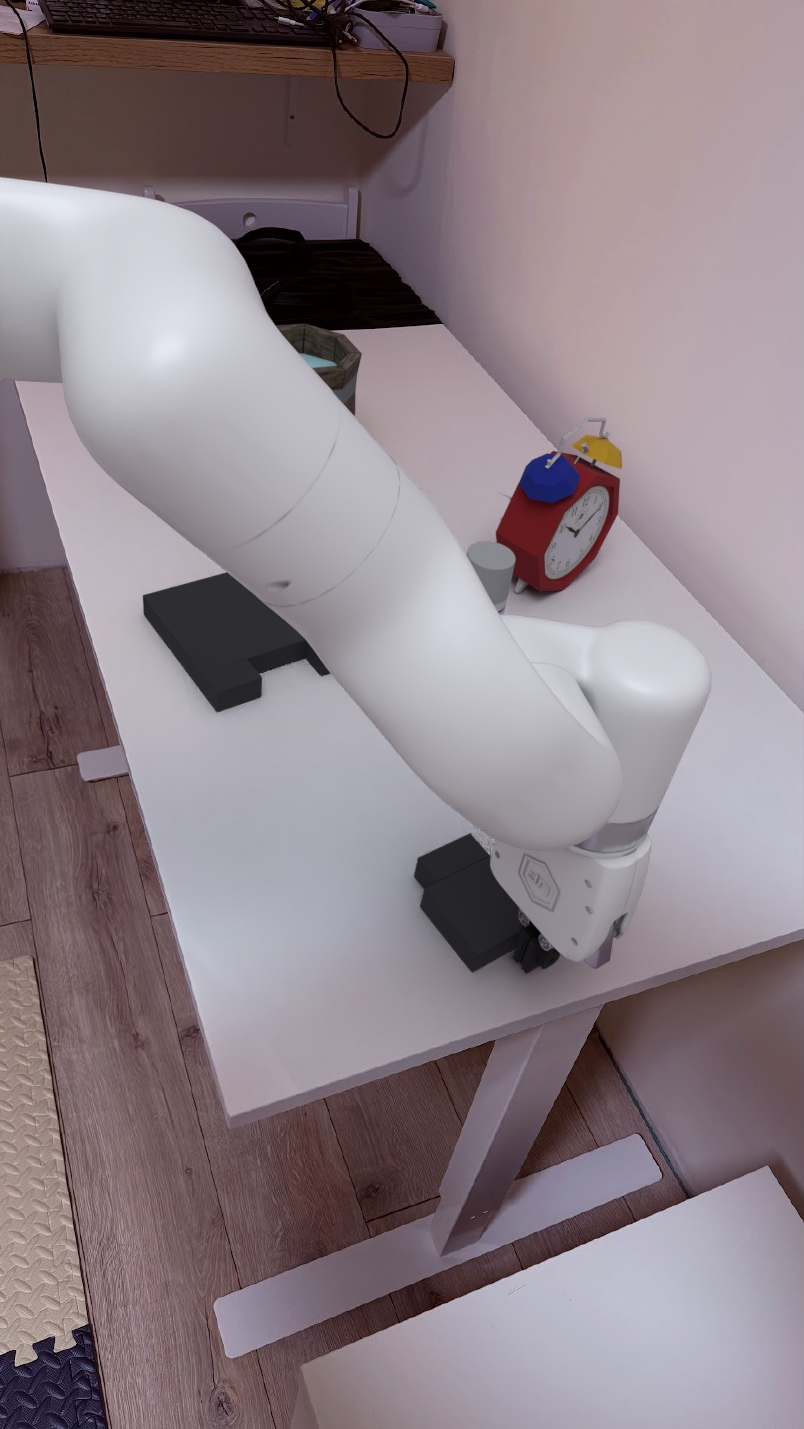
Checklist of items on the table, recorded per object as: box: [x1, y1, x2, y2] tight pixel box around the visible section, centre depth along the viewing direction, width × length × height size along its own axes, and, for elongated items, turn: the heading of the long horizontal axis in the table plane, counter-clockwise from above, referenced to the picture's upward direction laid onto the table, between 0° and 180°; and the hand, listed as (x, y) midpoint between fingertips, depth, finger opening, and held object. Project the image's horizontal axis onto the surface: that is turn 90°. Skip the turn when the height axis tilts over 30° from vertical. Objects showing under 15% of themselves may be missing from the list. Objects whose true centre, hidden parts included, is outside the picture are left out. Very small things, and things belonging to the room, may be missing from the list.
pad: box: [413, 832, 522, 973], centre depth 81 cm, size 8×10×2 cm
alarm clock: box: [495, 417, 623, 594], centre depth 110 cm, size 15×9×20 cm, turn 136°
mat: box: [142, 571, 331, 713], centre depth 101 cm, size 16×16×2 cm
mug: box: [275, 323, 363, 417], centre depth 120 cm, size 20×14×15 cm
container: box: [466, 540, 516, 615], centre depth 97 cm, size 5×5×15 cm
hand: (533, 957), depth 77 cm, fingers closed
